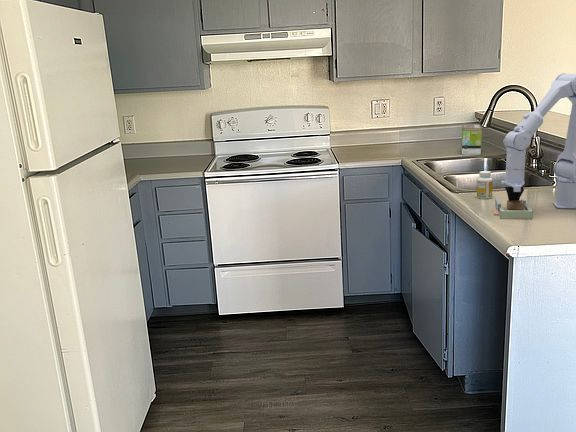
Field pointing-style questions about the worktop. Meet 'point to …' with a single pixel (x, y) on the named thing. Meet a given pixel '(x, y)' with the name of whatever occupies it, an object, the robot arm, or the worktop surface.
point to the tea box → (471, 139)
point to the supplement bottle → (484, 185)
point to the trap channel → (513, 211)
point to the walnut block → (515, 205)
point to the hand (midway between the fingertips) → (513, 208)
